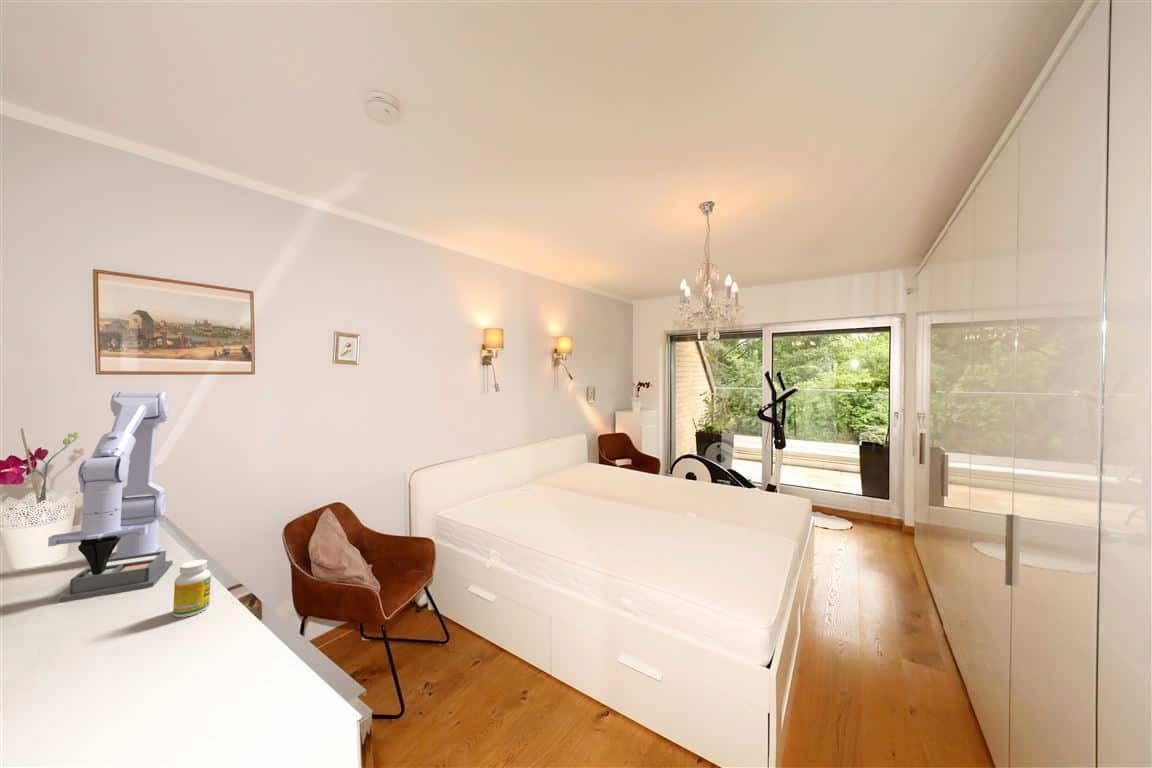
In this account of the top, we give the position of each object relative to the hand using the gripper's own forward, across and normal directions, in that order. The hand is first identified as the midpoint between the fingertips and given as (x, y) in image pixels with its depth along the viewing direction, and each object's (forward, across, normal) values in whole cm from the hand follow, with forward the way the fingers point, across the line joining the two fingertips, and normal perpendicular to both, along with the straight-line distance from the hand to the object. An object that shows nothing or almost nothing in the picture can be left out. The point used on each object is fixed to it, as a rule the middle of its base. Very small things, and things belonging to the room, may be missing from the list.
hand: (98, 572), depth 90 cm
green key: (+2, 0, 0) cm, 2 cm away
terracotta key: (+2, +6, 0) cm, 6 cm away
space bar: (+2, +3, +6) cm, 6 cm away
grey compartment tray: (+4, +3, +3) cm, 5 cm away
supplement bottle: (+4, +20, -22) cm, 30 cm away
